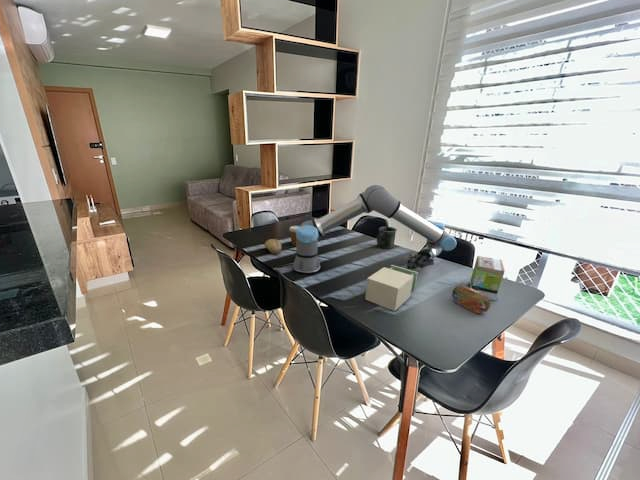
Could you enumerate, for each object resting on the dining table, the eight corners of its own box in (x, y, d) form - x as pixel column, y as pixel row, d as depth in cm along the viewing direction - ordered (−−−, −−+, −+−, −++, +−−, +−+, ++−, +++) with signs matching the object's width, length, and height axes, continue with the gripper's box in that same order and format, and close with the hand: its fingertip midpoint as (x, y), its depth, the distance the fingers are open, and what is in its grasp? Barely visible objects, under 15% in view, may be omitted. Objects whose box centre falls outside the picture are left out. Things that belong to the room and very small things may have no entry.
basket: (393, 277, 147) (395, 262, 144) (418, 285, 139) (421, 269, 135) (375, 291, 135) (377, 274, 131) (402, 301, 126) (405, 283, 123)
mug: (397, 247, 190) (400, 229, 186) (382, 251, 184) (384, 233, 179) (384, 242, 199) (386, 225, 195) (369, 246, 192) (371, 229, 188)
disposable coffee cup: (302, 246, 194) (302, 229, 189) (288, 246, 196) (288, 229, 191) (303, 242, 202) (304, 225, 198) (290, 241, 204) (290, 225, 200)
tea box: (496, 301, 126) (505, 271, 121) (469, 295, 131) (476, 266, 126) (494, 287, 138) (502, 258, 133) (469, 282, 143) (476, 254, 138)
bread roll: (274, 246, 196) (274, 235, 193) (285, 253, 183) (285, 241, 180) (261, 248, 191) (261, 237, 188) (271, 256, 179) (271, 244, 176)
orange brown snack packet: (450, 299, 128) (454, 283, 125) (454, 298, 129) (459, 281, 126) (483, 317, 115) (489, 299, 112) (488, 315, 117) (494, 297, 113)
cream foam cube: (381, 287, 140) (384, 267, 136) (409, 297, 131) (413, 275, 127) (365, 299, 130) (367, 278, 126) (394, 311, 121) (398, 288, 117)
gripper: (437, 264, 153) (421, 279, 138) (413, 258, 162) (394, 271, 147) (440, 251, 151) (423, 265, 135) (415, 245, 159) (396, 258, 144)
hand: (408, 268), depth 141 cm, fingers closed
